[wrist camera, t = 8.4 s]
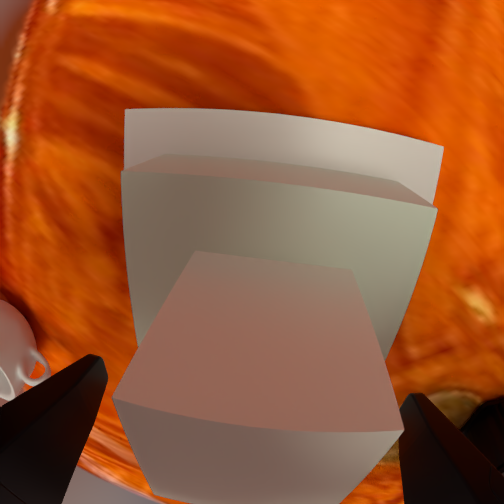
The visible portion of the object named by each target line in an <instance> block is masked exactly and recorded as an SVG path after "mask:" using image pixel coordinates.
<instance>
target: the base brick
mask: <svg viewBox="0 0 504 504" xmlns="http://www.w3.org/2000/svg"><path fill="white" fill-rule="evenodd" d="M121 193H122V215H123V231H124V243H125V255H126V265H127V274H128V283H129V291H130V299H131V306H132V313H133V319H134V326H135V332H136V338H137V343H138V348H139V346H140V344H141V342H142V340H143V339H144V337H145V335H146V333H147V332H148V330H149V328H150V326H151V324H152V323H153V321H154V319H155V317H156V316H157V314H158V312H159V310H160V309H161V307H162V305H163V304H164V302H165V300H166V298H167V297H168V295H169V293H170V292H171V290H172V288H173V287H174V285H175V283H176V281H177V280H178V278H179V276H180V275H181V273H182V271H183V270H184V268H185V266H186V265H187V263H188V261H189V260H190V258H191V257H192V255H193V253H194V252H195V251H203V252H211V253H219V254H227V255H236V256H244V257H252V258H260V259H268V260H276V261H284V262H293V263H301V264H309V265H318V266H326V267H334V268H343V269H351V270H352V272H353V274H354V277H355V279H356V282H357V284H358V287H359V290H360V292H361V295H362V298H363V300H364V303H365V306H366V309H367V311H368V314H369V317H370V320H371V323H372V325H373V328H374V331H375V334H376V337H377V340H378V343H379V346H380V349H381V352H382V355H383V358H384V361H385V359H386V357H387V355H388V353H389V351H390V348H391V346H392V344H393V341H394V339H395V337H396V334H397V332H398V330H399V327H400V325H401V322H402V320H403V317H404V315H405V312H406V310H407V307H408V304H409V302H410V299H411V296H412V293H413V291H414V288H415V285H416V282H417V279H418V276H419V273H420V270H421V267H422V264H423V261H424V258H425V254H426V251H427V248H428V244H429V241H430V237H431V234H432V230H433V227H434V223H435V219H436V215H437V211H438V208H436V207H435V206H433V205H432V204H431V203H429V202H428V201H426V200H425V199H423V198H422V197H420V196H419V195H417V194H416V193H415V192H413V191H412V190H410V189H409V188H407V187H405V186H404V185H402V184H401V183H399V182H398V181H393V180H388V179H383V178H378V177H372V176H367V175H361V174H355V173H349V172H343V171H337V170H331V169H324V168H317V167H310V166H302V165H295V164H287V163H278V162H269V161H260V160H250V159H239V158H227V157H214V156H198V155H180V154H163V155H160V156H158V157H155V158H152V159H150V160H147V161H145V162H142V163H140V164H137V165H135V166H132V167H130V168H127V169H125V170H122V171H121Z"/></svg>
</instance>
